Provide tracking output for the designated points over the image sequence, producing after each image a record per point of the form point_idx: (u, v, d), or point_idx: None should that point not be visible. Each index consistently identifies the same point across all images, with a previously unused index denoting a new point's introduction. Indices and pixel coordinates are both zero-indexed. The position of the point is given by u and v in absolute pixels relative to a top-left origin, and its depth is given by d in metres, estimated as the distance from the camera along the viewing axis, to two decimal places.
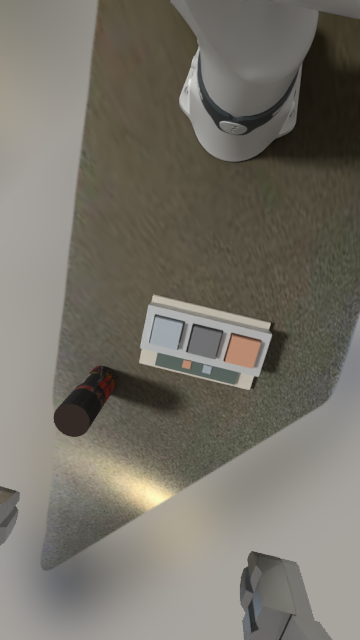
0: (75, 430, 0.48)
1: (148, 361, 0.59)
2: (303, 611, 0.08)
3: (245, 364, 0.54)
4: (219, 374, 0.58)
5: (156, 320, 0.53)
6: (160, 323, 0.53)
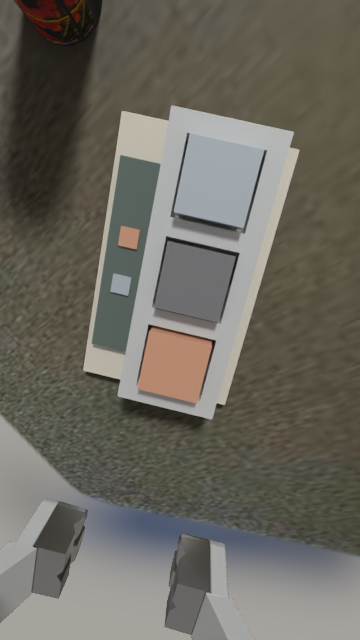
0: None
1: (127, 137, 0.24)
2: (218, 589, 0.08)
3: (146, 374, 0.24)
4: (112, 311, 0.27)
5: (255, 153, 0.20)
6: (246, 165, 0.20)
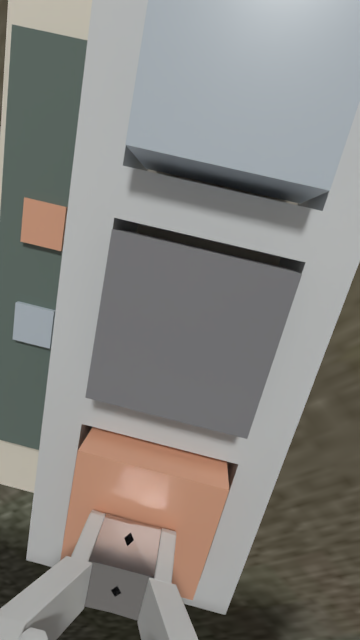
0: None
1: None
2: (163, 574, 0.08)
3: (77, 536, 0.11)
4: (21, 377, 0.13)
5: None
6: None
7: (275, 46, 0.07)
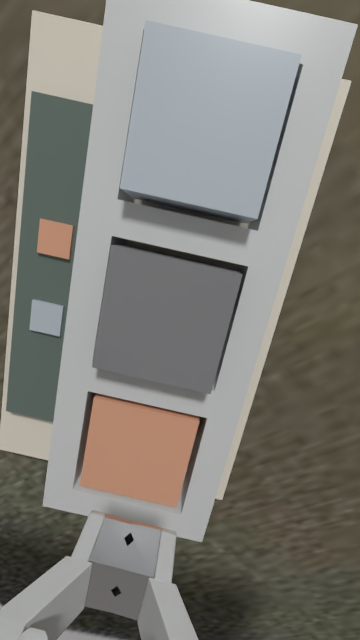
0: None
1: (45, 60, 0.13)
2: (163, 574, 0.08)
3: (92, 463, 0.15)
4: (35, 360, 0.16)
5: (282, 63, 0.10)
6: (264, 89, 0.10)
7: (217, 127, 0.10)
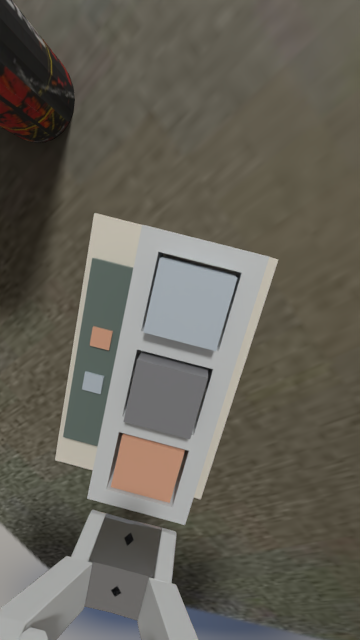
0: None
1: (100, 238, 0.23)
2: (162, 574, 0.08)
3: (119, 474, 0.24)
4: (84, 407, 0.26)
5: (228, 281, 0.19)
6: (218, 292, 0.19)
7: (195, 307, 0.19)
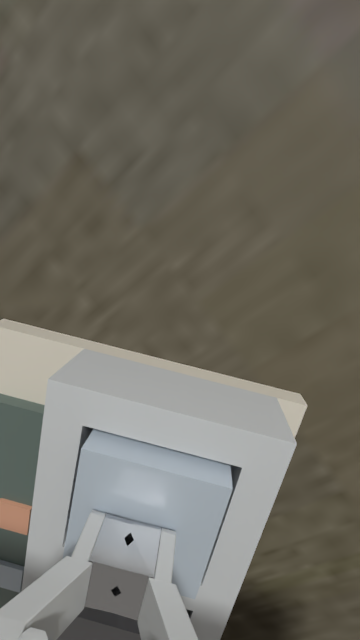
0: None
1: (2, 364, 0.13)
2: (162, 574, 0.08)
3: None
4: None
5: (214, 493, 0.10)
6: (197, 509, 0.10)
7: None
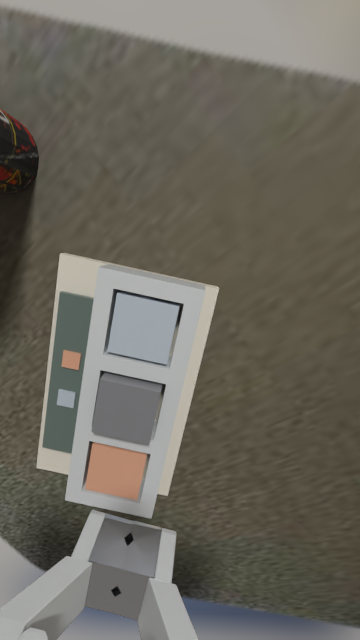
0: None
1: (66, 274, 0.26)
2: (163, 574, 0.08)
3: (91, 477, 0.28)
4: (59, 420, 0.29)
5: (172, 309, 0.24)
6: (165, 318, 0.24)
7: (147, 330, 0.24)
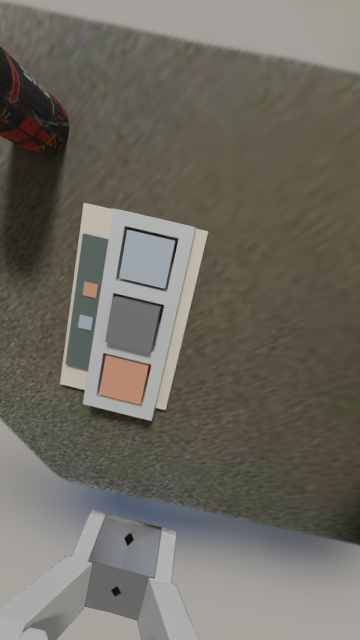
0: None
1: (88, 220, 0.33)
2: (163, 574, 0.08)
3: (104, 384, 0.35)
4: (79, 341, 0.36)
5: (169, 243, 0.30)
6: (164, 250, 0.31)
7: (150, 260, 0.31)
